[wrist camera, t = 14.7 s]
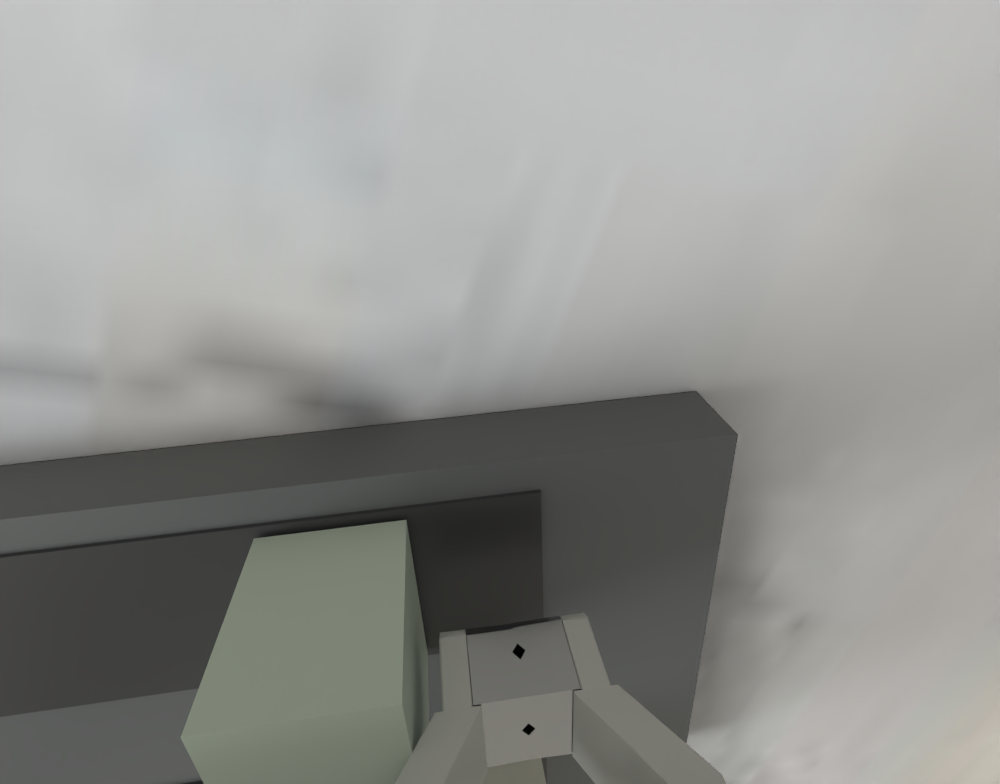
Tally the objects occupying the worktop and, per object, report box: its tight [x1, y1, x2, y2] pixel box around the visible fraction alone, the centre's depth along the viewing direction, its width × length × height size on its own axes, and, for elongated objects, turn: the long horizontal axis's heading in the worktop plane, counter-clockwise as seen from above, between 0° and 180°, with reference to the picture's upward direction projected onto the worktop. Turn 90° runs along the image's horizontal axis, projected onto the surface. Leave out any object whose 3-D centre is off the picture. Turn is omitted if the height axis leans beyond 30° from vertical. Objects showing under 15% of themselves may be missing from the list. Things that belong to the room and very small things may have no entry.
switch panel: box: [0, 391, 738, 784], centre depth 15 cm, size 24×14×2 cm, turn 93°
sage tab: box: [181, 520, 429, 784], centre depth 11 cm, size 3×4×4 cm
